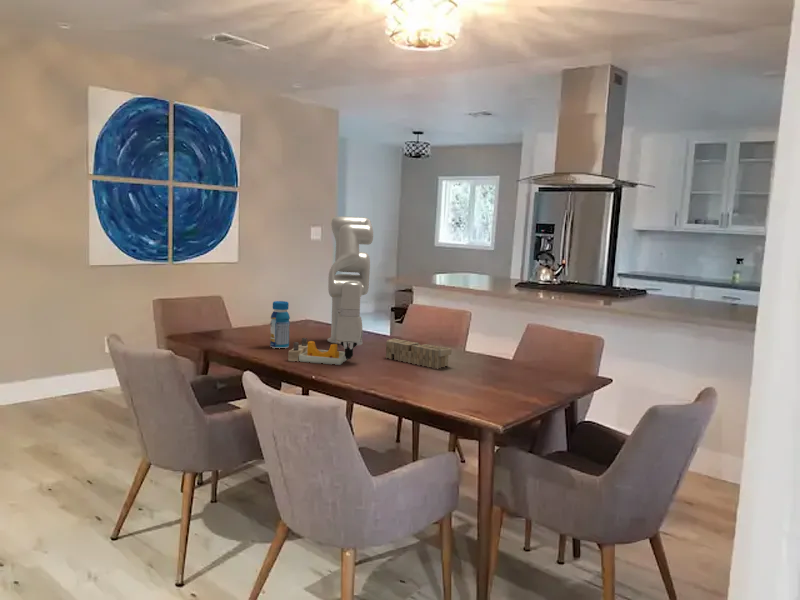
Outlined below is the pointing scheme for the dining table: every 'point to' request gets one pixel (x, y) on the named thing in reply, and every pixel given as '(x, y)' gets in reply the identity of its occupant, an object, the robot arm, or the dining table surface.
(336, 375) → the dining table surface
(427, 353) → the block tower
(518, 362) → the dining table surface
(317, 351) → the pipe clamp
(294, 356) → the block
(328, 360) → the tray
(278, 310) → the beverage bottle
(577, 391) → the dining table surface
